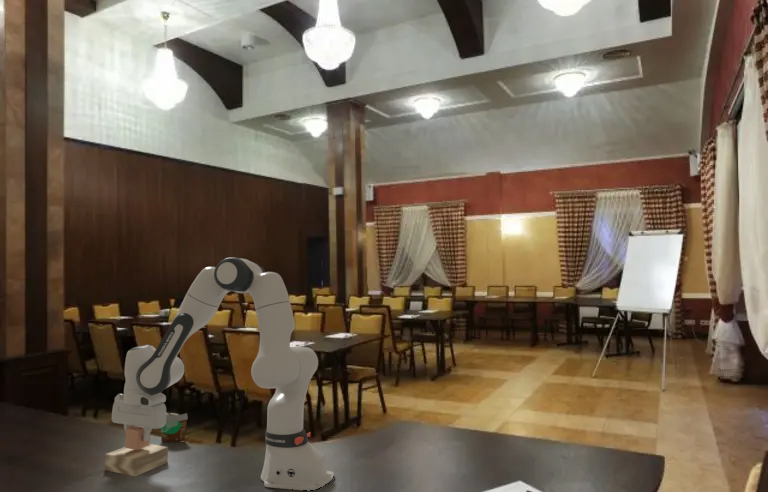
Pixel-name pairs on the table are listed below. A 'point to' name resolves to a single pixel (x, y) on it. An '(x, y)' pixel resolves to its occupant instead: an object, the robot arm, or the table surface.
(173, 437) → the food container
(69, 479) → the table surface
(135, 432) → the terracotta block
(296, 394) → the robot arm
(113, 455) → the birch plinth
